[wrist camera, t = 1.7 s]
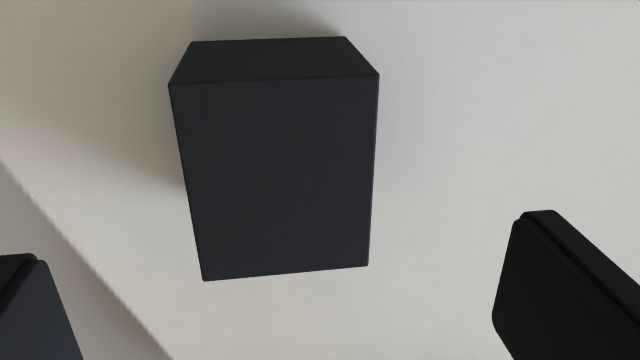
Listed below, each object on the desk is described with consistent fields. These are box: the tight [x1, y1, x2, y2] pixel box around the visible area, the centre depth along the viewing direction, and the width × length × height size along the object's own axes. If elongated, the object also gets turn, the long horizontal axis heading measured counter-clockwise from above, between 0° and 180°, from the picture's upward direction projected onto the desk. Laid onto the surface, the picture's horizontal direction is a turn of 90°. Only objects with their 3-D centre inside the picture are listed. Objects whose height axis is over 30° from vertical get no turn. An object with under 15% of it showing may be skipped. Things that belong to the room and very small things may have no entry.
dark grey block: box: [168, 36, 379, 282], centre depth 14 cm, size 6×5×4 cm
